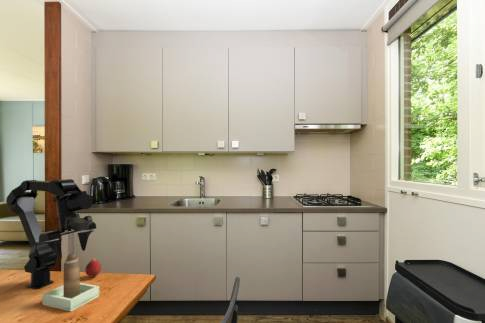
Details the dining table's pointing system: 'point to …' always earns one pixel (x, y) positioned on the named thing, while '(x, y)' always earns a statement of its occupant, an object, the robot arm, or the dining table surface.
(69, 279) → the pepper mill
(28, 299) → the dining table surface
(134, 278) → the dining table surface
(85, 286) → the serving tray
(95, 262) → the pomegranate
